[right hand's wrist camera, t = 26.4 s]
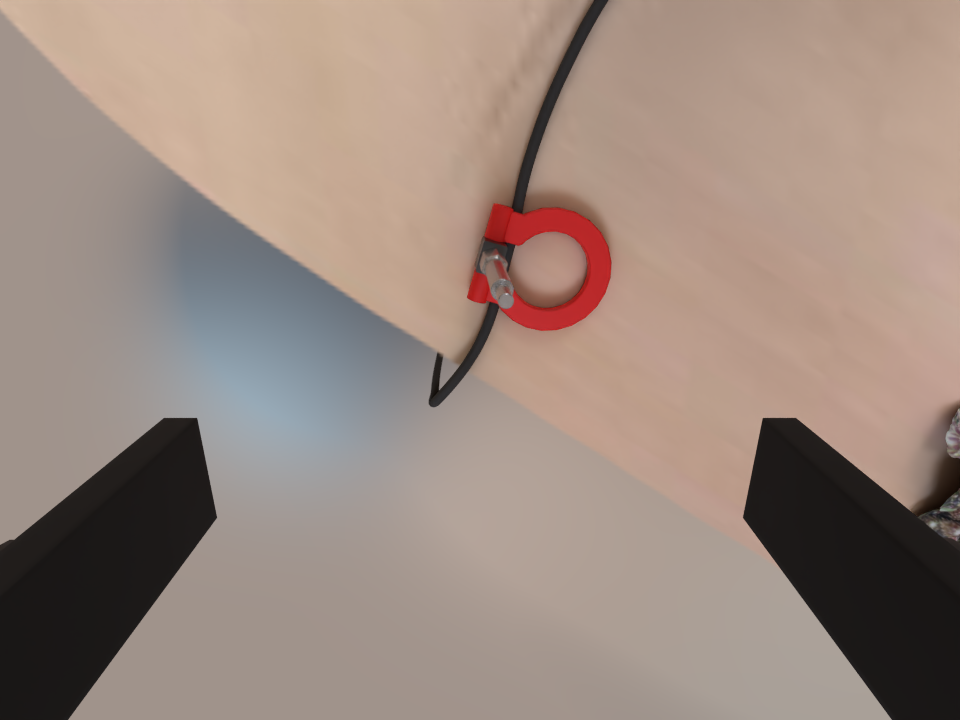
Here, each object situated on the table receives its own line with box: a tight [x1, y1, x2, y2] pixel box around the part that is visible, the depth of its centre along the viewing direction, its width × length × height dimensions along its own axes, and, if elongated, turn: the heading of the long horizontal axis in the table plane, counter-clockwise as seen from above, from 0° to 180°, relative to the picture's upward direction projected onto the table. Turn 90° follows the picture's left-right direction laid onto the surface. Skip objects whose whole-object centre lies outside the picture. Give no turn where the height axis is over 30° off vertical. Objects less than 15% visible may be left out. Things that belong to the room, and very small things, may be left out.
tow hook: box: [467, 203, 611, 331], centre depth 32 cm, size 8×13×9 cm
